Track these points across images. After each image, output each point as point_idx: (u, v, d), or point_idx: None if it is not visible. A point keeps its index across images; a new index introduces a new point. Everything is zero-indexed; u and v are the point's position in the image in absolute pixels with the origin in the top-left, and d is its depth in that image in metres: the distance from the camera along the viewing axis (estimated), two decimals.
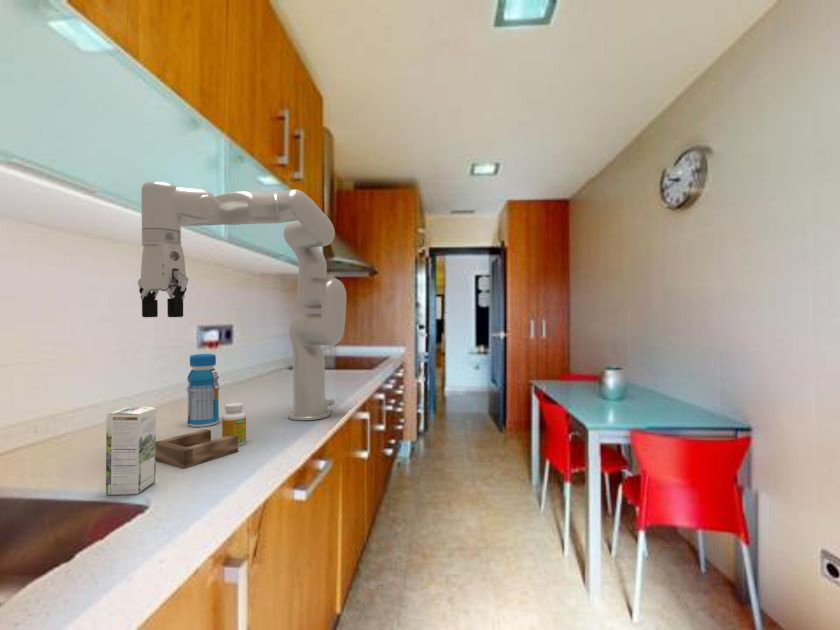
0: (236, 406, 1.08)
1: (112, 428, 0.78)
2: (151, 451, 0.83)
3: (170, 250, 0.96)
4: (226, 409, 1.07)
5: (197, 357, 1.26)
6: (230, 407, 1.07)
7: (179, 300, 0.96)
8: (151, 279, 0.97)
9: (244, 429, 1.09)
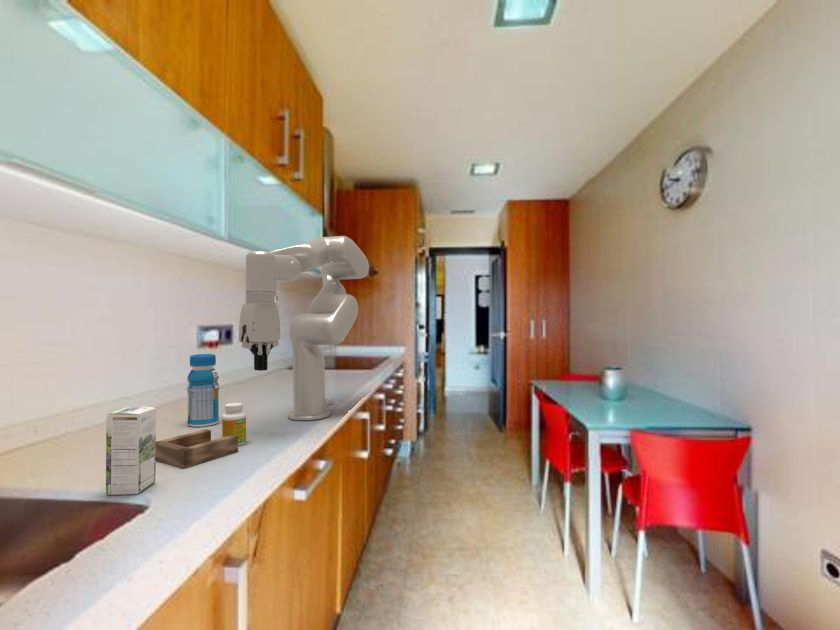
0: (236, 406, 1.08)
1: (112, 428, 0.78)
2: (151, 451, 0.83)
3: None
4: (226, 409, 1.07)
5: (197, 357, 1.26)
6: (230, 407, 1.07)
7: None
8: (267, 333, 1.15)
9: (244, 429, 1.09)
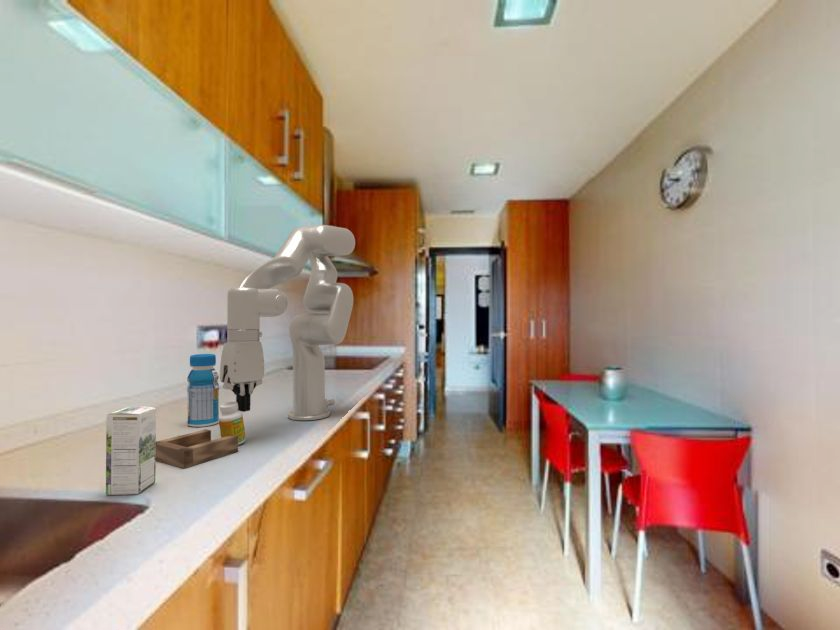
0: (231, 406, 1.06)
1: (112, 428, 0.78)
2: (151, 451, 0.83)
3: None
4: (221, 410, 1.06)
5: (197, 357, 1.26)
6: (225, 408, 1.06)
7: None
8: (250, 372, 1.10)
9: (242, 428, 1.08)
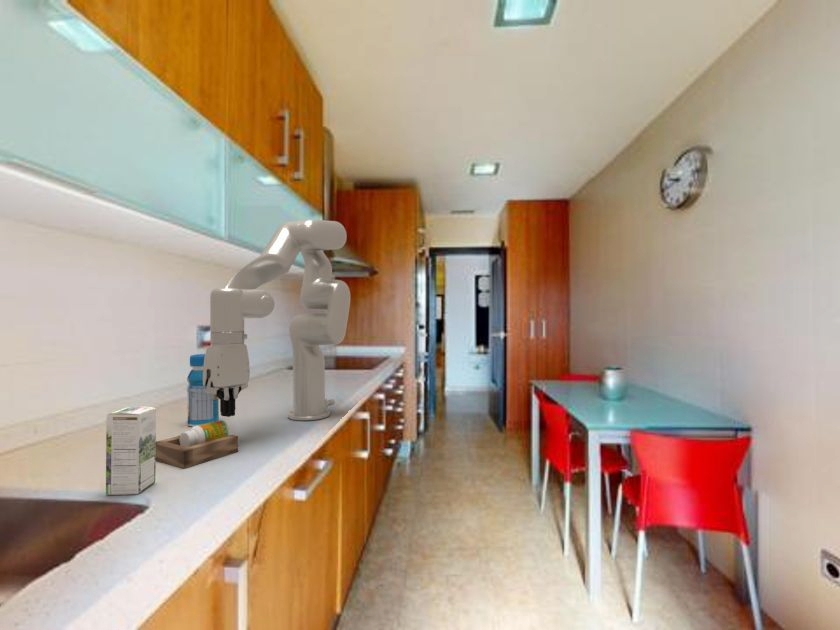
0: (190, 441, 0.99)
1: (112, 428, 0.78)
2: (151, 451, 0.83)
3: None
4: None
5: (197, 357, 1.26)
6: None
7: None
8: (234, 376, 1.06)
9: (213, 426, 1.04)
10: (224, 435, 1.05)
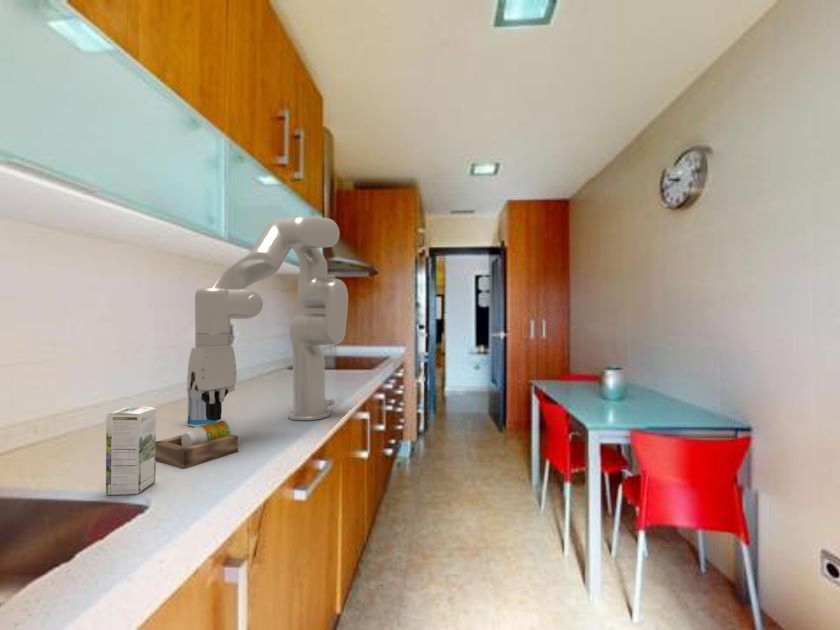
0: (192, 444, 0.98)
1: (112, 428, 0.78)
2: (151, 451, 0.83)
3: None
4: None
5: None
6: None
7: None
8: (220, 379, 1.03)
9: (217, 429, 1.03)
10: None
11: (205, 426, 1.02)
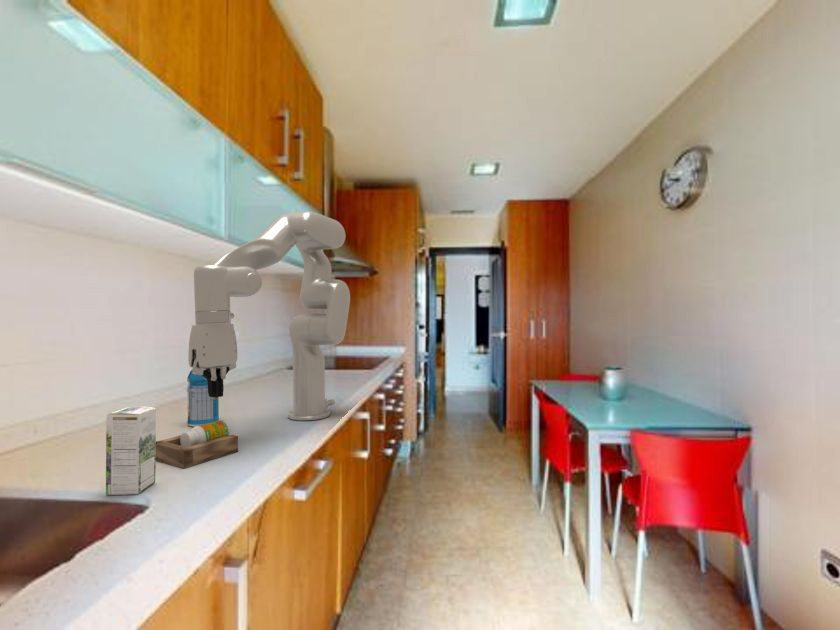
0: (191, 442, 0.99)
1: (112, 428, 0.78)
2: (151, 451, 0.83)
3: None
4: None
5: None
6: None
7: None
8: (221, 356, 1.03)
9: (215, 428, 1.04)
10: (225, 436, 1.05)
11: (203, 425, 1.03)
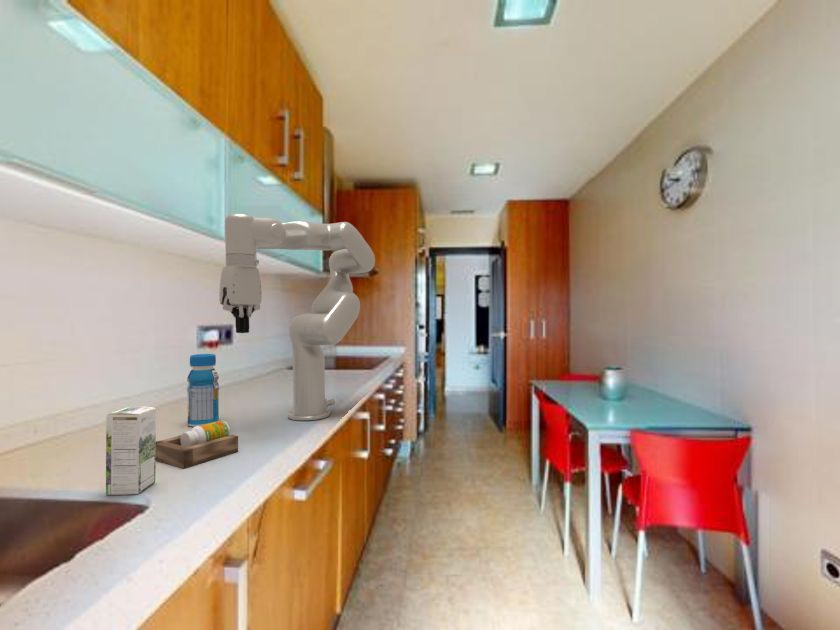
0: (191, 442, 0.99)
1: (112, 428, 0.78)
2: (151, 451, 0.83)
3: None
4: None
5: (197, 357, 1.26)
6: None
7: None
8: (248, 296, 1.16)
9: (215, 428, 1.04)
10: None
11: (203, 425, 1.03)
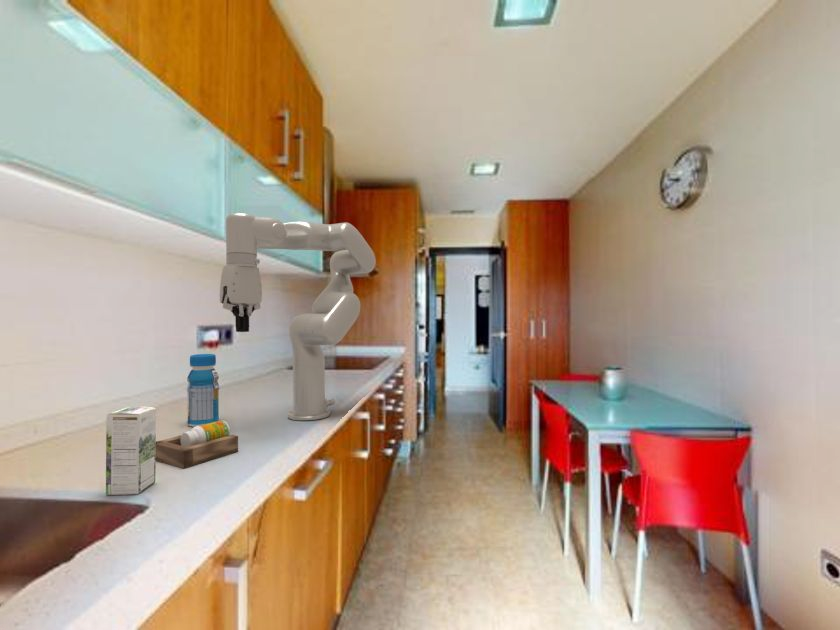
0: (191, 442, 0.99)
1: (112, 428, 0.78)
2: (151, 451, 0.83)
3: None
4: None
5: (197, 357, 1.26)
6: None
7: None
8: (248, 295, 1.16)
9: (215, 428, 1.04)
10: None
11: (203, 425, 1.03)
